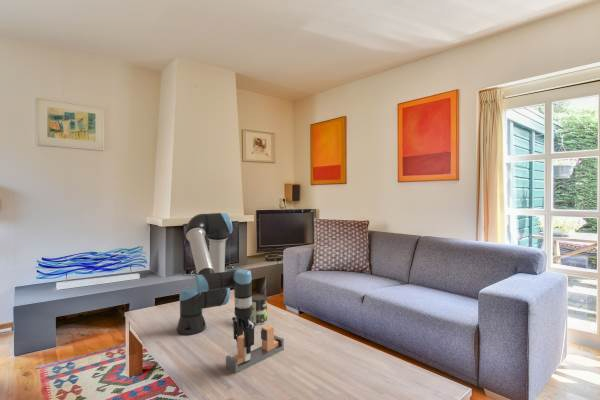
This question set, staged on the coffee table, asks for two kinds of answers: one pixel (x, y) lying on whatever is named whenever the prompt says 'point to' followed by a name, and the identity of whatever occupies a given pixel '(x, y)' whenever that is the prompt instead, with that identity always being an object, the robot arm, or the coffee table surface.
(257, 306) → the coffee can
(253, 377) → the coffee table surface
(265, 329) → the fixed finger
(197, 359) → the coffee table surface
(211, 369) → the coffee table surface
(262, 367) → the coffee table surface
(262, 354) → the rail
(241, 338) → the block
